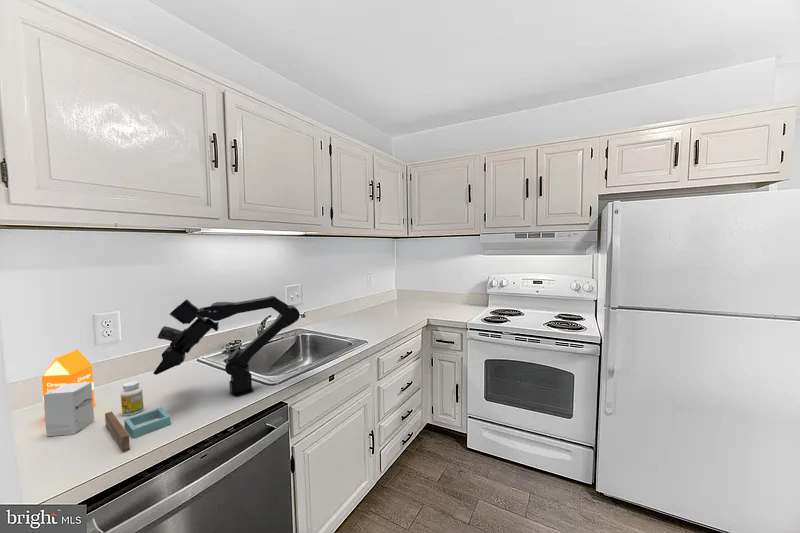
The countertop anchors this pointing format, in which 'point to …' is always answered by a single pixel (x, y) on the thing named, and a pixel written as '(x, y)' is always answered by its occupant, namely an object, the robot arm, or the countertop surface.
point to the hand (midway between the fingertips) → (158, 369)
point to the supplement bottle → (131, 398)
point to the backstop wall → (117, 431)
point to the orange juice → (68, 372)
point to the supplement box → (68, 408)
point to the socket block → (149, 426)
